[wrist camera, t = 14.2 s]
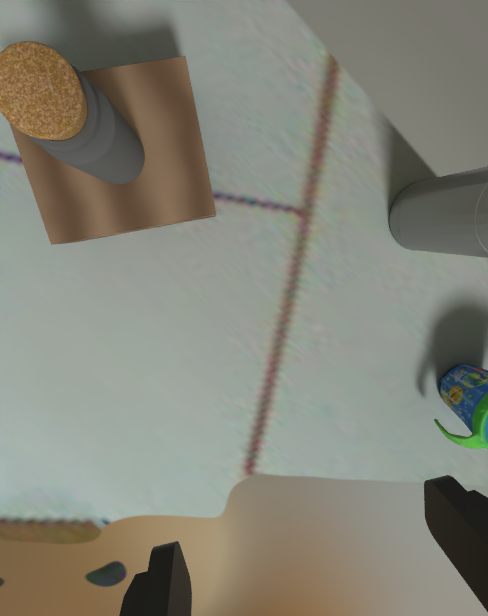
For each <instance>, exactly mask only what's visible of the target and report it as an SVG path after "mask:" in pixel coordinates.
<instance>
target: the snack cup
mask: <svg viewBox="0 0 488 616" xmlns="http://www.w3.org/2000/svg"><path fill="white" fill-rule="evenodd" d="M440 394H441V398H442V399H443V401H444V402H445V403H446V404H447V405H448V406H449V407H450V408H451V410H452V411H453V412H454V413H455V414H456V415H457V416H458V417H459V418H460V419H461V420H462V421H463V422H464V423H465V425H466V426H467V427H468V428H469V430H470V431H471V432H472V433H473V434H472V435H471V436H469V437H464V436H460V435H454V434H450V433H448V432H447V431H446V430H445V429H444V428H443V427H442V426H441V425H440V423H439V422H438V420H437V419H434V421H435V422H436V424H437V426H438V427H439V428H440V430H441V431H442V432H443V434H444V435H445V436H446V437H447V438H448V439H450V440H451V441H453V442H454V443H456V444H458V445H461V446H464V447H467V448H474V449H480V448H487V449H488V370H485V369H482V368H479V367H476V366H473V365H464V364H462V365H458V367H456V368H453V369H451V370H450V371H449V372H448V373H447V375H446V376H444V377H443V378H442V379H441V386H440Z"/></svg>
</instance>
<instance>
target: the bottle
mask: <svg viewBox="0 0 488 616" xmlns="http://www.w3.org/2000/svg"><path fill="white" fill-rule="evenodd" d="M0 111H1V113H2V114H3V116H4V117H5V118H6V119H7V120H8V122H10V123H11V124H12V125H13V126H14V127H15V128H16V129H18V130H19V131H21V132H23V133H25V134H26V135H27V136H28V137H29V138H30V139H31V140H33V141H34V142H36V143H37V144H39V145H41V146H42V147H43V149H44V150H46V151H47V152H48V153H49V154H50V155H52V156H53V157H55V158H56V159H58V160H60V161H62V162H64V163H66V164H68V165H70V166H72V167H74V168H76V169H79V170H81V171H83V172H85V173H87V174H89V175H92V176H94V177H96V178H98V179H101V180H103V181H105V182H108V183H111V184H119V185H121V184H127V183H129V182H131V181H133V180H135V179H136V178H137V177H138V176H139V174H140V173H141V171H142V169H143V166H144V162H145V153H144V149H143V145H142V143H141V141H140V139H139V138H138V136H137V135H136V133H135V132H134V131H133V129H132V128H131V127H130V125H129V124H128V123H127V121H126V120H125V119H124V117H123V116H122V115H121V113H120V112H119V111H118V110H117V108H116V107H115V106H114V104H113V103H112V102H111V101H110V99H109V98H108V97H107V96H106V94H105V93H104V92H103V91H102V90H101V89H100V88H99V87H98V86H97V85H96V84H95V83H94V82H92V81H91V80H90V79H88V78H86V77H84V76H83V75H82V73H81V72H80V71H79V70H77V69H76V68H75V67H74V66H72V65H71V64H69V63H68V61H67V60H66V59H65V58H64V57H62V56H61V55H60V54H59V53H58V52H57V51H55V50H54V49H52V48H50V47H48V46H46V45H43V44H40V43H37V42H30V41H29V42H19V43H15V44H12V45H10V46H8V47H7V48H5V49H4V50H3V51H2V52H1V53H0Z"/></svg>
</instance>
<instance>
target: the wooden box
mask: <svg viewBox="0 0 488 616" xmlns="http://www.w3.org/2000/svg"><path fill="white" fill-rule="evenodd" d="M81 73H82V75H83V76H84V77H86V78H88V79H90V80H91V81H92V82H94V83H95V84H96V85H97V86H98V87H99V88H100V89H101V90H102V91H103V92H104V93H105V94H106V96H107V97H108V98H109V99H110V101H111V102H112V103H113V104H114V106H115V107H116V108H117V110H118V111H119V112H120V113H121V115H122V116H123V117H124V119H125V120H126V121H127V123H128V124H129V125H130V127H131V128H132V129H133V131H134V132H135V133H136V135H137V136H138V138H139V139H140V141H141V143H142V145H143V149H144V153H145V162H144V166H143V169H142V171H141V173H140V174H139V176H138V177H137V178H136V179H135V180H133V181H131V182H129V183H127V184H121V185H119V184H111V183H108V182H105V181H103V180H101V179H98V178H96V177H94V176H92V175H89V174H87V173H85V172H83V171H81V170H79V169H76V168H74V167H72V166H70V165H68V164H66V163H64V162H62V161H60V160H58V159H56V158H55V157H53V156H52V155H50V154H49V153H48V152H47V151H46V150H44V149H43V147H42V146H41V145H39V144H37V143H36V142H34V141H33V140H31V139H30V138H29V137H28V136H27V135H26V134H25V133H23V132H21V131H19V130H18V129H16V128H15V127H14V126H13V125H12V124H11V123H10V122H9V123H10V126H11V129H12V132H13V135H14V138H15V141H16V144H17V146H18V149H19V152H20V155H21V158H22V161H23V164H24V167H25V170H26V173H27V176H28V178H29V181H30V184H31V187H32V190H33V193H34V196H35V199H36V202H37V205H38V207H39V210H40V213H41V216H42V219H43V222H44V225H45V228H46V231H47V234H48V236H49V239H50V242H51V245H52V244H62V243H73V242H79V241H85V240H90V239H95V238H101V237H106V236H112V235H117V234H122V233H128V232H133V231H139V230H144V229H149V228H155V227H160V226H166V225H171V224H176V223H182V222H187V221H193V220H198V219H203V218H209V217H214V216H216V210H215V205H214V200H213V195H212V189H211V184H210V179H209V174H208V169H207V164H206V159H205V154H204V149H203V144H202V138H201V133H200V128H199V123H198V118H197V113H196V108H195V103H194V98H193V93H192V87H191V82H190V77H189V72H188V67H187V62H186V57H185V56H183V57H176V58H170V59H163V60H156V61H150V62H143V63H137V64H130V65H124V66H117V67H110V68H104V69H97V70H91V71H84V72H81Z"/></svg>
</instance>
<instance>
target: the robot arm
mask: <svg viewBox="0 0 488 616" xmlns="http://www.w3.org/2000/svg"><path fill="white" fill-rule="evenodd" d="M389 224H390V230H391V232H392V235H393V237H394V238H395V240H396V241H397V242H398V243H399V244H400V245H401V246H403V247H405V248H407V249H411V250H418V251H428V252H437V253H447V254H456V255H466V256H476V257H486V258H488V166H487V167H483V168H478V169H474V170H470V171H465V172H460V173H456V174H452V175H447V176H443V177H438V178H433V179H429V180H425V181H420V182H416V183H414V184H411V185H410V186H408V187H407V188H405V189H404V190H403V191H402V192H401V193H400V194H399V195H398V197H397V198H396V200H395V201H394V203H393V206H392V208H391V212H390V220H389ZM424 497H425V498H424V500H425V519H426V522H427V525H428V528H429V530H430V532H431V534H432V535H433V537H434V539H435V540H436V541H437V543H438V544H439V546H440V547H441V548H442V550H443V551H444V553H445V554H446V555H447V557H448V558H449V559H450V561H451V562H452V564H453V565H454V566H455V568H456V569H457V570H458V572H459V573H460V574H461V576H462V577H463V579H464V580H465V581H466V582H467V584H468V586H469V587H470V588H471V590H472V591H473V592H474V594H475V595H476V596H477V598H478V599H479V601H480V602H481V603H482V605H483V606H484V608H485V609H486V610H487V612H488V498H487V497H486V496H484V495H482V494H480V493H479V492H477V491H475V490H472V491H468V492H467V491H466V490H465V489H464V488H463V487H462V486H461V485H460V484H459V483H458V482H457V481H456V480H455V479H454V478H453V477H451V476H449V475H446V476H442V477H438V478H434V479H430V480H426V481H425V483H424ZM191 604H192V592H191V581H190V576H189V572H188V569H187V566H186V563H185V560H184V556H183V553H182V550H181V547H180V544H179V542H178V541H176V542H172V543H168V544H164V545H160V546H156V547H154V548H153V549H152V552H151V555H150V561H149V567H148V571H147V572H143V573H139V574H136V575H135V577H134V579H133V580H132V582H131V584H130V586H129V588H128V590H127V592H126V594H125V596H124V599H123V603H122V607H121V611H120V616H191Z"/></svg>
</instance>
